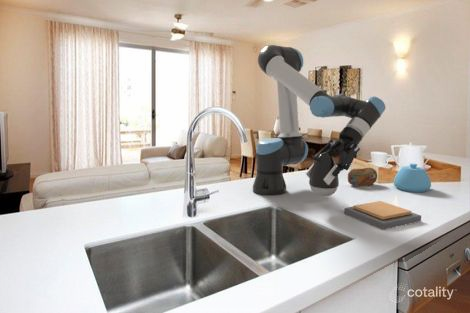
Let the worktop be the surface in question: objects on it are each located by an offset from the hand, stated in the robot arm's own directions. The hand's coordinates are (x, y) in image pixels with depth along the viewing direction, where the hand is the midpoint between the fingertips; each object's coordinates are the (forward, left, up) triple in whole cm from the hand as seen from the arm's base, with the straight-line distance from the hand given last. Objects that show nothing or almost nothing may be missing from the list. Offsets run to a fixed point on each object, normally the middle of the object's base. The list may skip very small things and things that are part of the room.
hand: (316, 179), depth 115 cm
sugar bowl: (-8, +60, -13) cm, 62 cm away
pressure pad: (+14, +17, -10) cm, 24 cm away
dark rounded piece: (0, +3, -6) cm, 7 cm away
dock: (+14, +17, -12) cm, 25 cm away
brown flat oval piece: (-23, +45, -13) cm, 52 cm away
